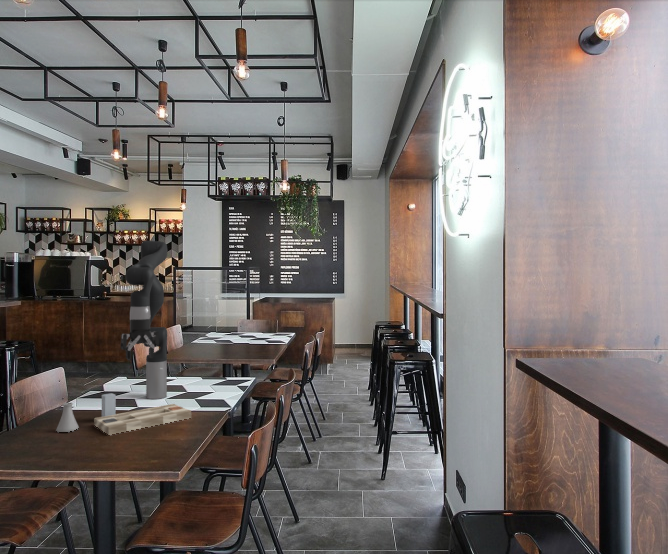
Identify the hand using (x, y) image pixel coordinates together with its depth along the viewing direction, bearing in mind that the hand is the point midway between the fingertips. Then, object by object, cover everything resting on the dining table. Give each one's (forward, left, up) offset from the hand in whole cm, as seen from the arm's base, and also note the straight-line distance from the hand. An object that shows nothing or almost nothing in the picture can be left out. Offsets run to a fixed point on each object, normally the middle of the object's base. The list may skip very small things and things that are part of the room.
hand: (140, 358), depth 195 cm
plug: (-11, -8, -25) cm, 28 cm away
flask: (-7, -24, -25) cm, 36 cm away
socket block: (+2, +1, -25) cm, 25 cm away
